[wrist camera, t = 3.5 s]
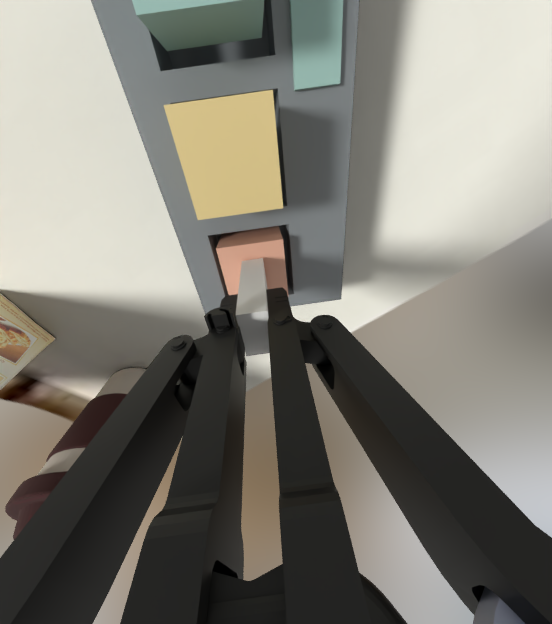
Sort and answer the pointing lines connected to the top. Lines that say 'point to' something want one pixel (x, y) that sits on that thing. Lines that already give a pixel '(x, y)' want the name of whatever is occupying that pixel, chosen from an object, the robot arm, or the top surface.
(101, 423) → the coffee cup
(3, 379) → the coffeecake box
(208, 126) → the key mid
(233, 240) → the key
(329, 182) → the keypad board
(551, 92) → the top surface
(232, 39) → the key
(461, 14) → the top surface
